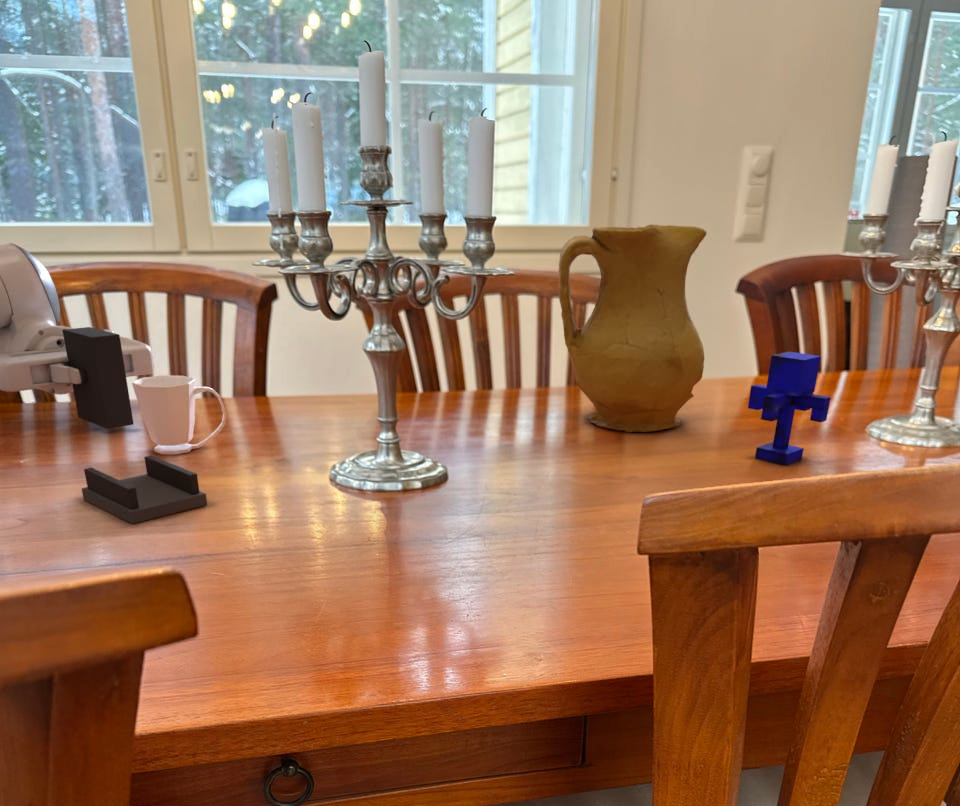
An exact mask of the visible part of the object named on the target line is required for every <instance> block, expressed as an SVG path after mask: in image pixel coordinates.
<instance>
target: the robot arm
mask: <svg viewBox="0 0 960 806" xmlns="http://www.w3.org/2000/svg"><path fill="white" fill-rule="evenodd" d="M60 315H61V307H60V299H59V295H58V292H57V289H56V287H55V284H54V281H53V278H52V276H51V274H50V273H49V271H48V270H47V268H46V267H45V265H44V264H43V263H41V261H39V259H37V258H36V257H35V256H34V255H33V254H31V253H30V252H29V251H28V250H26V249H24V248H23V247H21V246H19V245H17V244H14V243H8V244H7V243H6V244H2V245H0V391H2V392H8V393H15V392H23V391H31V390H41V391H43V392H46V393H49V394H51V395H59V396H61V395H67V394H71V393H74V390H73V385H72V383H74V384H82V383H87V382H88V378H87V372H86V370H85V368H82V367H69V363H68V361H69V360H68V357H67V353H66V347H65V342H64V336H63V331H62V330H64V329H74V327H68V326H65V325H59V324H60V317H61V316H60ZM98 329H99V330H103V331H107V332H111V333H115V332H114V331H113V330H111V329H105V328H104V329H103V328H101V329H100V328H98ZM120 341H121V348H122V354H123V360H124V367H125V373H126V378H130V377H131V378H132V377H138V376H146V375H152V374H153V373H154V372H155V361H154V355H153V350H152V348H151V346H150V345H148V344H146V343H144V342H141V341H140V340H139V341H138V340H136V339H132V338H129V337H126V336H125V337H124V336H120Z"/></svg>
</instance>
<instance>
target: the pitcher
mask: <svg viewBox="0 0 960 806" xmlns="http://www.w3.org/2000/svg"><path fill="white" fill-rule="evenodd" d="M591 230H592V236H591V237H590V236H588V235H576V236H573V237H571V238H569V239H567V241H566V242H565V243H564V245H563V246H562V248H561V251H560V254H559V262H558V276H559V277H558V279H559V280H558V281H559V282H558V285H559V286H558V299H559V300H558V301H559V304H560V308H561V313H560V315H561V320H562V327H563V339H564V345H565V347H566V348H567V352H568V354H569V358H570V361H571V365H572V366H571V367H572V368H573V369H572V370H573V373H574V380H575V384H576V386H577V387H578V389H580V391H581V392H582V393H583V394H584V395H585V396H586V397H587V399H588V400H589V401H590V402H591V403H592V405H594V408H595V410H596V411H594V412H592V413H590V414H589V416H588V417H587V419H589V423H590V424H591V423H592V424H593V425H596V426H598V427H601V428H606V429H610V430H616V431H624V432H626V433H633V432H642V433H649V432H655V431H656V432H657V431H663V430H668V429H674V428H675V427H677V428H678V426H680V424H681V421H680V419H678V418H676V416H677V414H678V412H679V411H680V410H681V409H682V408H683V407H684V406H685V404H686V403H688V402H689V401H690V400H691V399H692V398H694V394H693V393H692V392H693V388H694V387H695V385H697V384H698V383H699V382H700V381H701V380H702V378H703V373H704V368H705V363H704V362H705V351H704V345H703V342H702V340H701V338H700V335H699V332H698V330H697V328H696V326H695V324H694V322H693V320H692V317H691V315H690V313H689V309H688V304H687V303H688V302H687V297H686V277H687V272H688V267H689V263H690V261H691V259H692V256H693V254H695V252H696V251H697V249H698V247H699V246H700V244H701V242H702V241H703V240H704V239H705V237H706V236H707V231H706V230H705V229H704V228H701V227H698V226H690V225H689V226H686V225H672V224H669V225H667V224H666V225H661V224H653V223H652V224H647V225H645V226H636V227H628V226H627V227H626V226H624V227H623V226H621V227H620V226H604V227H603V226H602V227H601V226H600V227H596V226H594V227H592V229H591ZM581 255H588V256H592V257H593V258H594V259H595V261H596V263H597V266H598V268H599V272H600V279H599V280H600V281H599V288H598V292H597V297H596V301H595V304H594V307H593V310H592V312H591V314H590V316H589V317H588V319H587V321H586V322H585V324H584V325H583V326H582V327H581V328H577V327H576V323H575V318H574V312H573V306H572V294H571V288H570V287H571V286H570V272H571V266H572V263H574V261H575V260H576V259H577V257H579V256H581Z"/></svg>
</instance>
